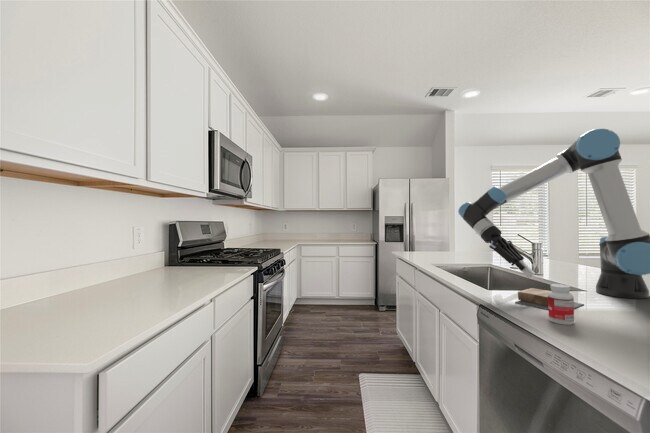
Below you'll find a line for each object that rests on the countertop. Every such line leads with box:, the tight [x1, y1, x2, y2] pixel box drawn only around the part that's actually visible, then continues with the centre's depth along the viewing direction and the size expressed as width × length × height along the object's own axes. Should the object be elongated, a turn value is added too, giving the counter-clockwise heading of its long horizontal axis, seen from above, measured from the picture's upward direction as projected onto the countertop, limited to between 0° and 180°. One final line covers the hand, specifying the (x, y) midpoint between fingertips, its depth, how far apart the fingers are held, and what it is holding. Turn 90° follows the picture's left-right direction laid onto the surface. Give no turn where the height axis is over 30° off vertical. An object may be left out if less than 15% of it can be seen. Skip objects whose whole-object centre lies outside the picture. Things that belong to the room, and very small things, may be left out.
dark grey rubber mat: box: [514, 300, 585, 311], centre depth 109 cm, size 15×16×1 cm
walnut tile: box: [517, 287, 551, 306], centre depth 110 cm, size 3×10×13 cm
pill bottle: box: [548, 283, 575, 326], centre depth 91 cm, size 6×6×11 cm
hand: (531, 275), depth 114 cm, fingers closed
